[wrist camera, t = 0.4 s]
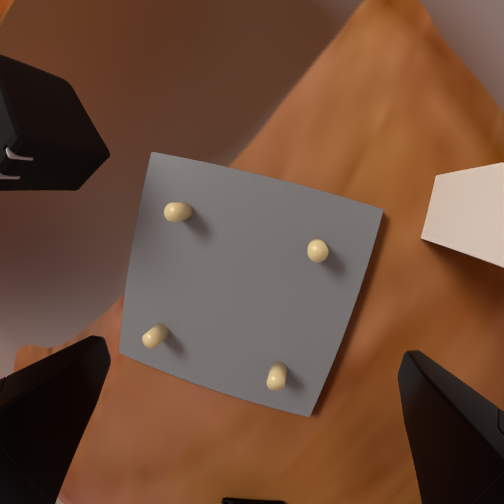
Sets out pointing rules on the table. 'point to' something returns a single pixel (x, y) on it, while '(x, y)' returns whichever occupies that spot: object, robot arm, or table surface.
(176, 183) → the mount plate
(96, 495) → the table surface
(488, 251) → the cream block
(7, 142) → the electronic device
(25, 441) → the robot arm
